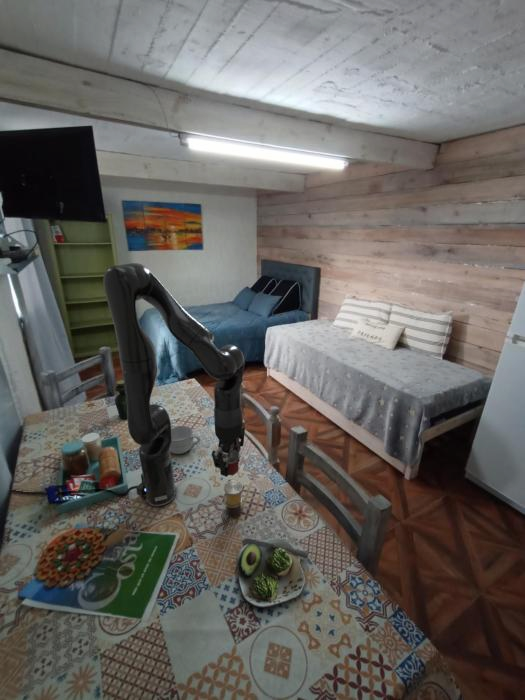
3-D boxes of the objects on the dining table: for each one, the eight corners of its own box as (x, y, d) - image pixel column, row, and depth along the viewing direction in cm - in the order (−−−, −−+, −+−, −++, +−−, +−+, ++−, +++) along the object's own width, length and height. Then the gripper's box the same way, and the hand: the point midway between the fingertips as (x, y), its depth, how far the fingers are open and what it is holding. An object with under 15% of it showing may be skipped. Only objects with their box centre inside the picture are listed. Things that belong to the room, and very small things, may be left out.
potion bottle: (139, 412, 153) (134, 378, 146) (129, 421, 145) (123, 387, 139) (124, 410, 154) (118, 377, 148) (114, 419, 147) (107, 385, 140)
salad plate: (298, 532, 93) (298, 520, 91) (322, 596, 77) (323, 584, 75) (232, 545, 89) (232, 534, 87) (243, 617, 73) (243, 604, 71)
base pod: (221, 514, 99) (220, 502, 97) (230, 501, 103) (230, 489, 101) (237, 521, 96) (236, 509, 95) (245, 507, 101) (245, 495, 99)
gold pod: (221, 502, 97) (220, 490, 95) (230, 490, 101) (230, 477, 100) (237, 509, 95) (236, 496, 93) (245, 496, 99) (245, 483, 97)
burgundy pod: (217, 472, 90) (216, 458, 88) (227, 460, 94) (226, 446, 93) (234, 479, 87) (233, 464, 86) (243, 466, 92) (243, 452, 90)
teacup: (161, 453, 125) (158, 436, 122) (177, 437, 134) (176, 421, 131) (191, 462, 120) (189, 445, 117) (206, 445, 130) (204, 429, 127)
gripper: (230, 402, 92) (232, 449, 98) (200, 429, 80) (205, 480, 86) (253, 408, 89) (253, 457, 95) (226, 437, 77) (228, 490, 83)
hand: (230, 468), depth 91 cm, fingers closed on burgundy pod, 5 cm apart
